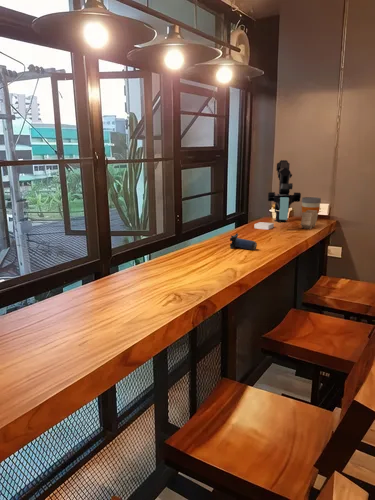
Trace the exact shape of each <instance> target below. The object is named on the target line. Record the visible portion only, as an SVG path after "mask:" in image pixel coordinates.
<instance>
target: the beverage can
mask: <svg viewBox="0 0 375 500" xmlns="http://www.w3.org/2000/svg"><path fill="white" fill-rule="evenodd" d="M238 236H239V233H237V232H236V233H235V234H233V235H230V238H229V241H230V242H231V243H230V244H229V248H230V249H232V250H233V249H234V248H240V249H243V250H244V249H245V250H249V251H255V250H256V249H257V246H258V243H257V242H256V241H255V240H250V239H245V238H241V237H238Z"/></svg>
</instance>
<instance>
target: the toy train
mask: <svg viewBox="0 0 375 500" xmlns="http://www.w3.org/2000/svg"><path fill="white" fill-rule="evenodd" d="M301 213H302V212H301ZM316 217H317V218H318V216H317V210H307V211H306V212H303V213H302V216H301V221H300V226H301V229H305V230H306V229H307V230H312V228H315V227H316V224H317V220H316Z"/></svg>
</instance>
